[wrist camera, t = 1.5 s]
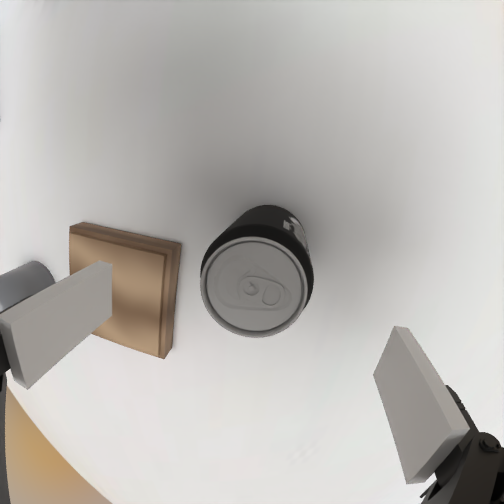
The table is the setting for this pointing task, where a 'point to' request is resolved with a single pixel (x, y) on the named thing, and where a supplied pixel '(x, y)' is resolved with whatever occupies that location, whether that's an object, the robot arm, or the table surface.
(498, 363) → the table surface
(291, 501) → the table surface
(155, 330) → the stand
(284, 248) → the beverage can
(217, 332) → the table surface
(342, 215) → the table surface
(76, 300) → the robot arm
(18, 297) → the grey rounded cylinder
